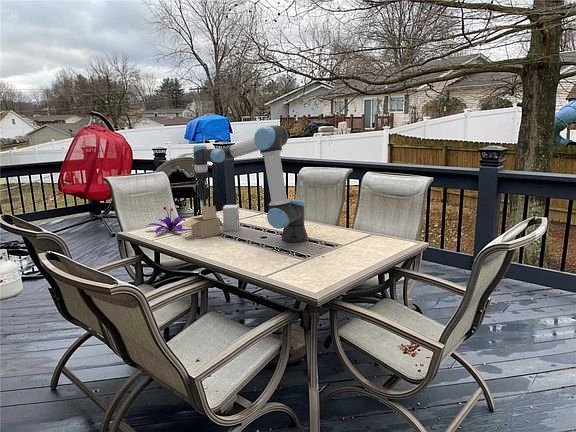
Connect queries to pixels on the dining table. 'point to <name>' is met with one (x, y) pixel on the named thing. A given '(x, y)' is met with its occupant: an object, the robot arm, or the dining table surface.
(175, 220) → the decorative flower
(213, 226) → the carton
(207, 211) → the flap near
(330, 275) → the dining table surface
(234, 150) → the robot arm
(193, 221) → the flap left
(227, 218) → the supplement box
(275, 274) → the dining table surface
